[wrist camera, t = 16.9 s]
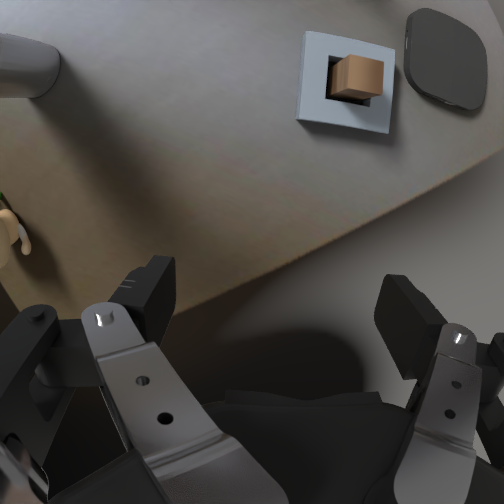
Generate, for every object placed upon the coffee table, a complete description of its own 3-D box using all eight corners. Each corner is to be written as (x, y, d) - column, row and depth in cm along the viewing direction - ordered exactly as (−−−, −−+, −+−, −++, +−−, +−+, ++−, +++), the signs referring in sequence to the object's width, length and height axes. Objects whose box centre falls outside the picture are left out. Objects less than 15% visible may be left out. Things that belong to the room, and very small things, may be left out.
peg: (327, 96, 38) (347, 88, 29) (329, 69, 37) (349, 54, 28) (355, 100, 38) (382, 95, 29) (357, 73, 37) (384, 61, 28)
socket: (295, 119, 40) (298, 118, 36) (302, 37, 35) (306, 30, 32) (379, 132, 40) (388, 133, 37) (385, 54, 35) (395, 50, 32)
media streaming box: (478, 39, 33) (488, 36, 30) (474, 116, 38) (485, 117, 35) (405, 4, 32) (413, -1, 29) (399, 87, 38) (408, 85, 35)
